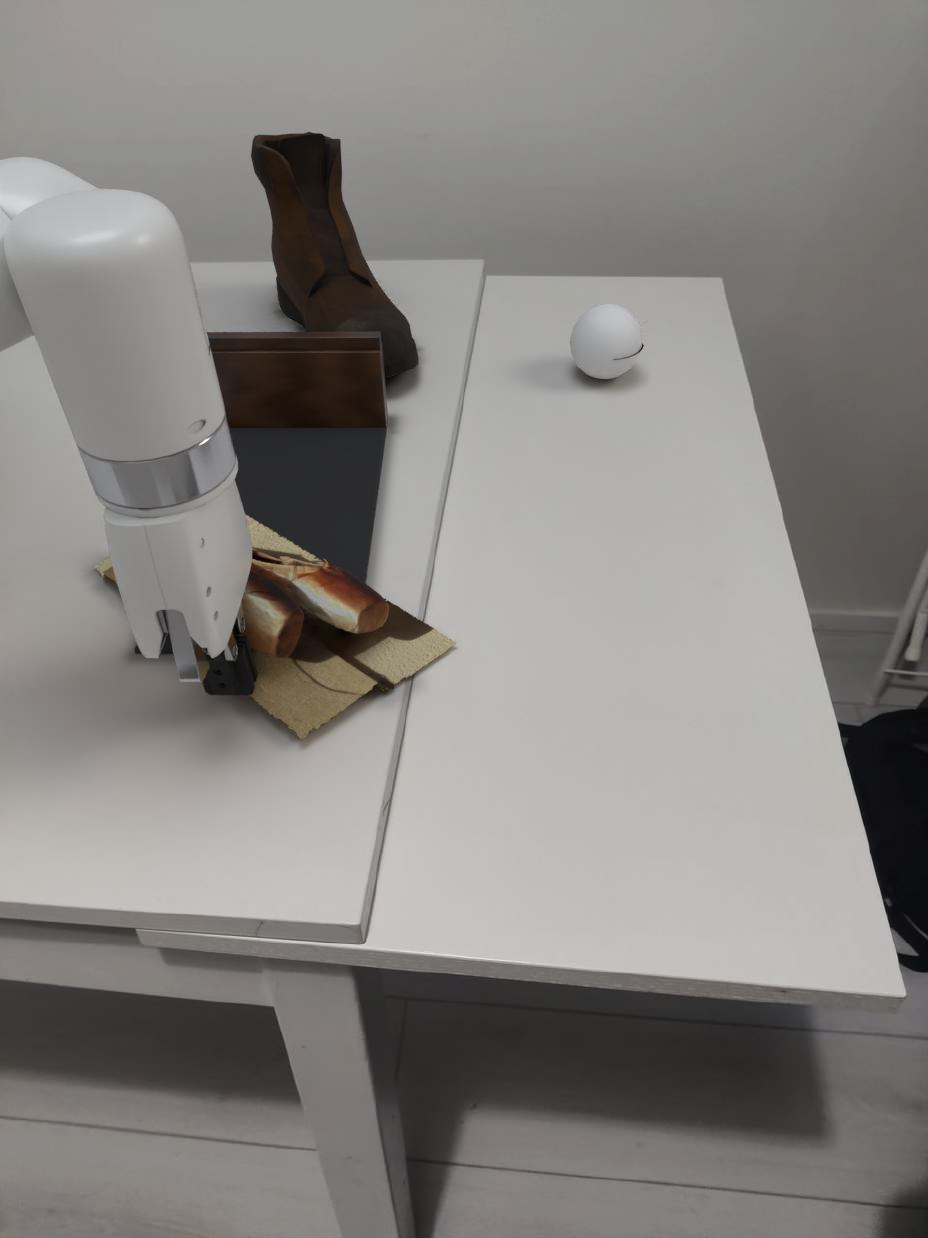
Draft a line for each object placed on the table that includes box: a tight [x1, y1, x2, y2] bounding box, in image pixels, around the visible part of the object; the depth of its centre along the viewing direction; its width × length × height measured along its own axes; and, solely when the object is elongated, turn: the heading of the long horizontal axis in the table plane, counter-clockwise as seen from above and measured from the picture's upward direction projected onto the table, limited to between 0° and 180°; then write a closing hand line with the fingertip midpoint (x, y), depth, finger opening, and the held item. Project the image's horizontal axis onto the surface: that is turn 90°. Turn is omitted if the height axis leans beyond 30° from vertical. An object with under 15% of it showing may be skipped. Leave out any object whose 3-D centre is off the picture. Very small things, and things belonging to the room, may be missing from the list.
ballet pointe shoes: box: [92, 515, 457, 740], centre depth 64 cm, size 14×7×28 cm
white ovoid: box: [569, 303, 648, 380], centre depth 89 cm, size 10×7×7 cm
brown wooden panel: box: [206, 331, 389, 429], centre depth 82 cm, size 16×2×9 cm, turn 89°
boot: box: [250, 131, 420, 379], centre depth 91 cm, size 11×30×20 cm, turn 27°
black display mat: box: [134, 428, 387, 654], centre depth 74 cm, size 16×30×1 cm, turn 179°
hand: (232, 685), depth 58 cm, fingers closed
